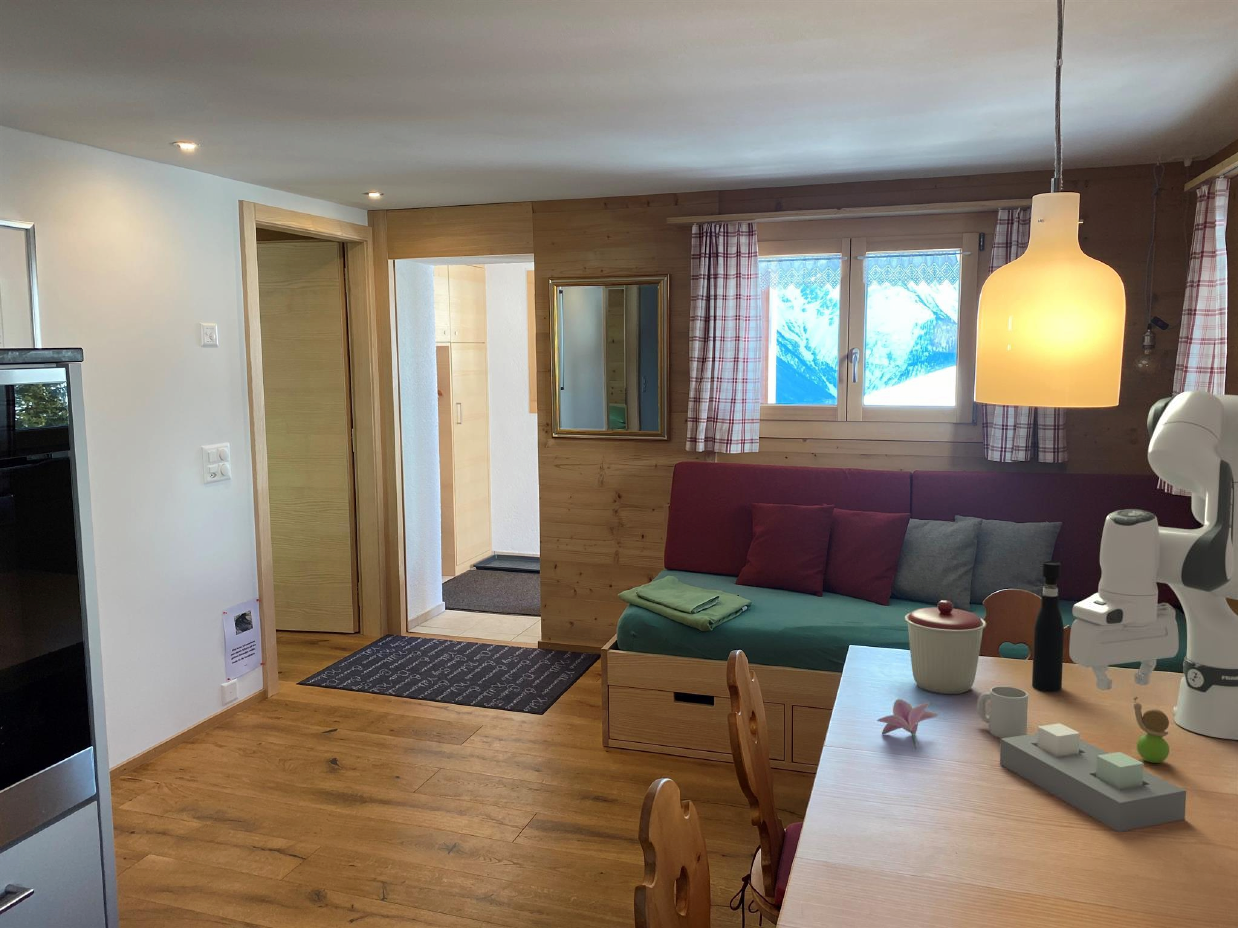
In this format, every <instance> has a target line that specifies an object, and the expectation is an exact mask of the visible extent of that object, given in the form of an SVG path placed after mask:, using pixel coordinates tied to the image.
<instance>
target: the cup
mask: <svg viewBox="0 0 1238 928" xmlns="http://www.w3.org/2000/svg"><path fill="white" fill-rule="evenodd" d="M988 700H989V713H988V714H987V711H986V708H985V707H986V703H987V701H988ZM1028 704H1029V693H1028V692H1027V691H1026V690H1024V689H1021V688H1018V687H1016V686H1015V687H1014V686H1007V685H1001V686H1000V685H998V686H993V687H991V688H990V690H989V691H985V692H982V693H981V694H980V695H979V696H978V699H977V704H976V707H977V713H978V716H979V718H980V719H981V721H983V722H984V723H985V724H988V730H989V733H990V734H991V735H992V736H994V737H996V738H999V739H1002V738H1008V737H1015V736H1021V735H1027V729H1028V728H1027V727H1028V707H1029V706H1028Z"/></svg>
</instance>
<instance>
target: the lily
mask: <svg viewBox="0 0 1238 928" xmlns="http://www.w3.org/2000/svg"><path fill="white" fill-rule="evenodd" d="M930 704H931V703H930V702H924V703H922V704H919V705H916V706H915V707H913V706H912V705H911V704H910V703H909V702H907V701H906V700H903V699H900V698H897V699H895V701H894V703H893V707H892V715H886V716H883V717H881V718H878V719H877V720H876V721H877V722H880V723H885V724H886V725H885V726H884V727H883V729H882V731H881V735H886V734H889V733H892V732H894V731H896V730H900V729H903V730H904V731H906V732H908V733H910V734H911V739H912V743H913V744H914V745H913V746H914V748H915V750H917V749H918V748H917V745H916V741H915V737H914V735H916V734H917V731H918V726H919V723H920V722H923V721H926V720H929V719H933V718H937V717H939V714H938V713H936V712H933V711H929V710H927V708H928V707H929V705H930Z"/></svg>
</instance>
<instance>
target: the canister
mask: <svg viewBox="0 0 1238 928" xmlns="http://www.w3.org/2000/svg"><path fill="white" fill-rule="evenodd" d="M904 621H905V622H906V623H907V629H908V642H909V652H910V661H911V671H912V676H913V680H914V681H915V684H916V685H918V686H919V687H920V688H921V689H923V690H926V691H928V692H932V693H937V694H942V695H943V694H945V695H959V694H963V693H967V692H968V691H970V690H971V689H972V687H973V686H974V683H975V680H976V675H977V674H976V673H977V668H978V663H979V659H980V658H979V656H980V652H981V651H980V650H981V643H982V636H983V630H984V628H986V627H987V622H986V620H984V619H983V618H981V617H979V615H977V614H975V613H974V612H970V611H967V610H963V609H959V608H954V604H953V602H951V601H950V600H946V599H945V600H944V599H943V600H939V602H937V607H935V606H934V607H932V606H931V607H923V608H918V609H914V610H913V611H911V612H909V613H907V614H906V615H905V616H904Z"/></svg>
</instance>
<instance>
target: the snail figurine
mask: <svg viewBox="0 0 1238 928" xmlns="http://www.w3.org/2000/svg"><path fill="white" fill-rule="evenodd" d="M1137 699H1139V698H1138V696H1134V697H1133V700H1134V702H1133V709H1134V714H1135V719H1136V721H1137V725H1138V726H1139V728H1140V729H1141V731H1144V732H1145V733H1144V734H1143V735H1141V736H1140V737H1139V738H1138V740H1137V743H1136V750H1137V752H1138V754H1139V756H1140V757H1141V758H1142V759H1143V760H1145V761H1146V762H1149V763H1154V764H1155V763H1156V764H1158V763H1162V762H1164V761H1165V760H1167V758H1168V757H1169V755H1170V746H1169V744H1168V741H1167V740H1166V739H1165V738H1164V737H1166V736H1168V735H1169V734H1170V733H1169V732H1168V731H1166V730H1167V729H1168V728H1169V726H1170V721H1169V718H1168V716H1167V714H1165V713H1164V711H1162V710H1160V709H1156V708H1153V709H1152V708H1151V709H1147V710H1146V711H1145V712H1144V713H1142V707H1143V706H1142V704H1141V703H1140V702H1136V701H1137Z"/></svg>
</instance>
